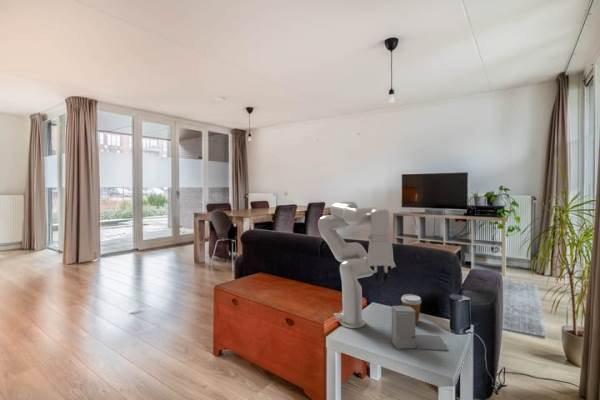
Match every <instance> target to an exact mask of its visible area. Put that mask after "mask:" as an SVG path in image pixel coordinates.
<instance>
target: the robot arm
mask: <svg viewBox="0 0 600 400" xmlns="http://www.w3.org/2000/svg"><path fill="white" fill-rule="evenodd" d="M351 225H352V226H367V225H370V234H369V235H367V240H369V242H368V248H367V249H368V250H367V251H366V249H365V247H364V246H363V245H362V244H361V243H359V242H357V241H356V242H355V241H354V242H347V241H345V239H344V238H343V237H342V235H341V234H339V233H338V232H336V231H341V230H346V229H348V228H349V227H350V226H351ZM317 227H318V228H317V229H318V232H319V234H320V236H321V238H322V239H323V240H324V241H325V242H326V243H327V245H328V247H329V249H330V250H331V252H332V254H333V256H334V258H335V260H337V261H338V262H339V263H340V265H339V273H340V278H341V279H340V280H341V292H342V293H341V295H342V299H341V300H342V301H341V303H342V311H341V312H340V313H338V312H337V313H336V312H334V313H333V318H335V319H336V320H339V323H340V325H341V326H343V327H345V328H348V329H360V328H363V327H364V326H366V319H365V318H364V317H363V292H362V291H363V289H362V285H361V283H360V281H358V279H361V278H366V277H367V278H368V277H371V276H373V274H374V280H375V281H376V283H378V282H379V272H378V267H383V271H382V282H383V283H386V281H387V280H388V272H389V271H390V270H391V269H393V268H396V267H397V266H396V263H395V261H394V250H393V243H392V241H391V240H390V212H389V210H388V209H387V208H378V207H358V205H357V203H356V202H354V201H339V202H338V201H337V202H335V203H333V204H332V205H331V207H330V214H328V215H323V216H321V217H319V219H318V220H317Z"/></svg>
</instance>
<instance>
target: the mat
mask: <svg viewBox="0 0 600 400" xmlns="http://www.w3.org/2000/svg"><path fill="white" fill-rule="evenodd" d="M415 348H416V349H417V350H422V351H438V352H442V351H443V352H449V348H448V347H447V345H446V343H445V342H444V340H443V339H442V337H441V336H440V335H428V334H415Z"/></svg>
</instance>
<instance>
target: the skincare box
mask: <svg viewBox="0 0 600 400" xmlns="http://www.w3.org/2000/svg"><path fill="white" fill-rule="evenodd" d="M415 335H416V324H415V310H414V309H412V308H411V307H410V306H403V305H392V306H391V342H392V344H393V346H394V347H395V349H397V350H405V349H416V345H415Z"/></svg>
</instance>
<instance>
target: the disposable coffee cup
mask: <svg viewBox="0 0 600 400" xmlns="http://www.w3.org/2000/svg"><path fill="white" fill-rule="evenodd" d="M400 300H401V303H402V306H410V307H411V308H412V309H414V310H415V325H416V324H418V323H419V319H420V311H421V303H422V301H423V300H422V299H421V296H419V295H417V294H410V293H409V294H403V295H402V296H401V298H400Z"/></svg>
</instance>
